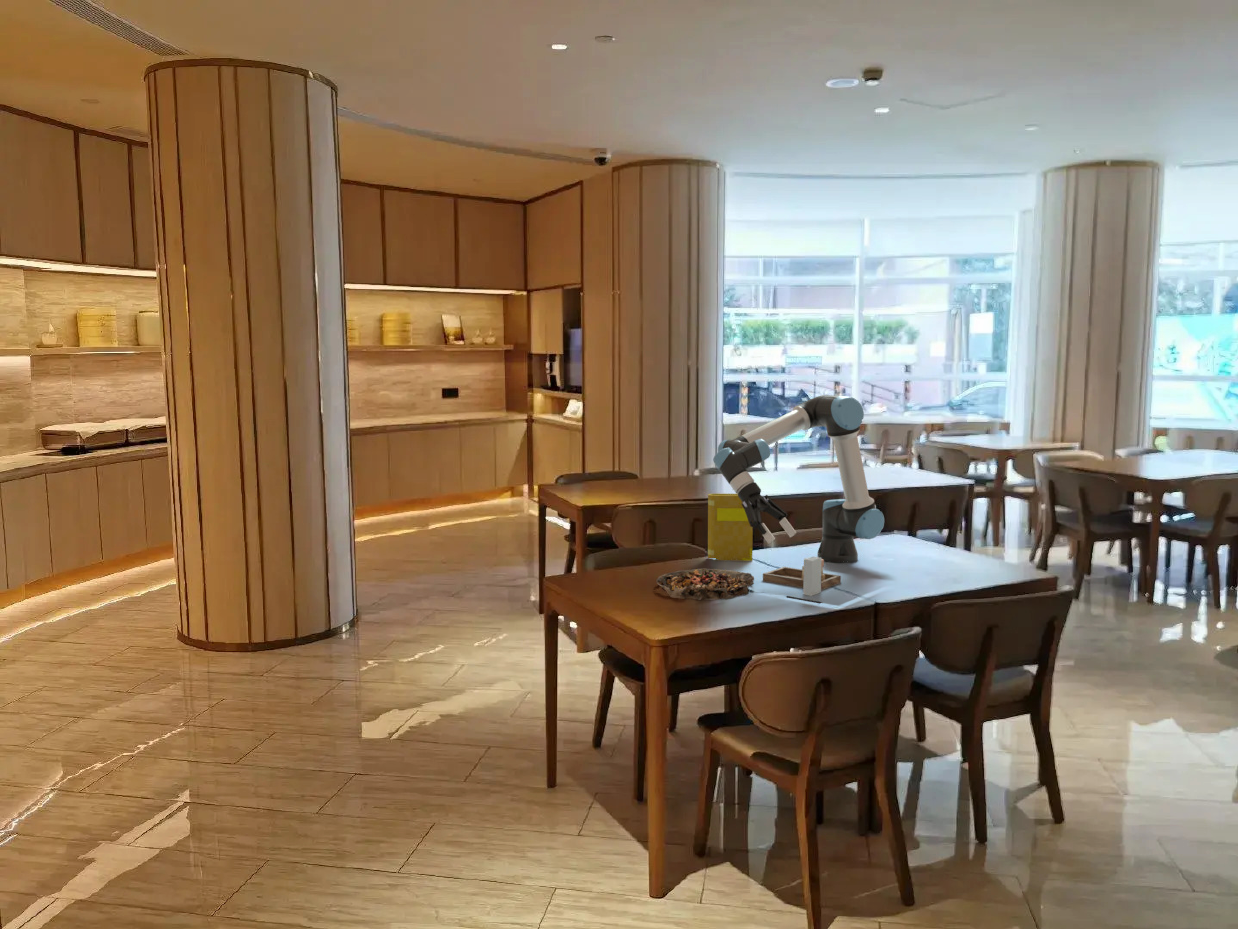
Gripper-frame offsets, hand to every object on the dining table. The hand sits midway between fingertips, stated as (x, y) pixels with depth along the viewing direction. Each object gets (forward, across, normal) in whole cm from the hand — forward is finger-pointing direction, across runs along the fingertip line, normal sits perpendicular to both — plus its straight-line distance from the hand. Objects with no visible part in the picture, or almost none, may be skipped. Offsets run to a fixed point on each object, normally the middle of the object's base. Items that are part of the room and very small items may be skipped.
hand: (783, 538), depth 316 cm
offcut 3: (+16, -11, -8) cm, 21 cm away
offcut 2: (+13, -11, -6) cm, 18 cm away
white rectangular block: (+20, +1, -4) cm, 21 cm away
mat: (+21, +1, -4) cm, 21 cm away
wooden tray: (+13, -11, -12) cm, 21 cm away
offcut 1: (+11, -12, -4) cm, 17 cm away
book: (-16, -32, -43) cm, 56 cm away
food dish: (-1, +12, -28) cm, 31 cm away
